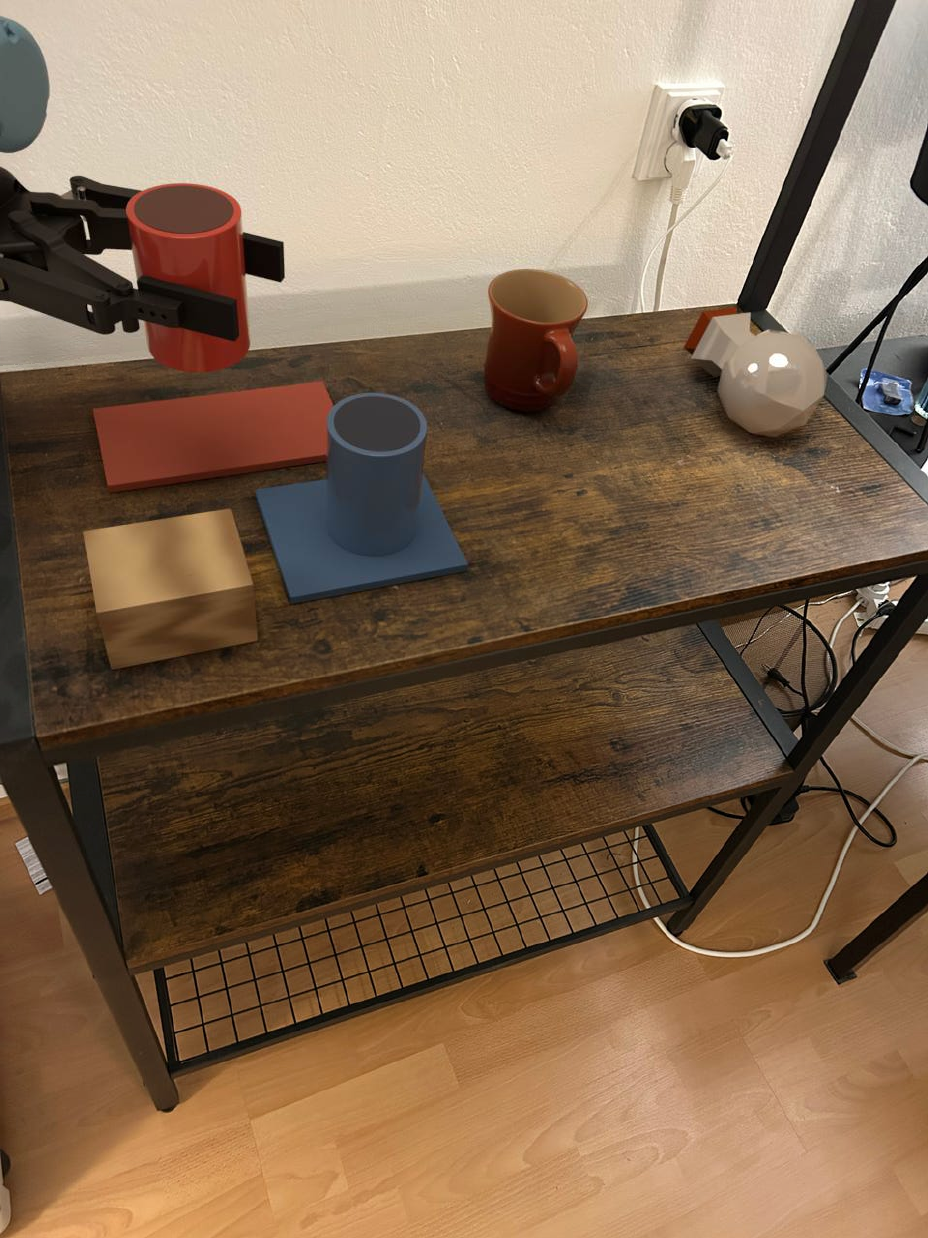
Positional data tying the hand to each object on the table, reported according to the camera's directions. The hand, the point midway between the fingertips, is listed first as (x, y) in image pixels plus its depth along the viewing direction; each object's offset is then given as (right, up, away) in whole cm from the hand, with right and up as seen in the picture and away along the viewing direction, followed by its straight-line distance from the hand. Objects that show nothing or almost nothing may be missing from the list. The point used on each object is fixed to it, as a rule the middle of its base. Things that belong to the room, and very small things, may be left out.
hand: (259, 290), depth 65 cm
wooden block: (-7, -22, +4) cm, 23 cm away
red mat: (-7, -7, +18) cm, 20 cm away
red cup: (-5, -2, +5) cm, 7 cm away
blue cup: (+6, -15, +12) cm, 20 cm away
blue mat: (+5, -15, +12) cm, 20 cm away
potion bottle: (+40, -2, +29) cm, 50 cm away
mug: (+20, -2, +26) cm, 32 cm away
